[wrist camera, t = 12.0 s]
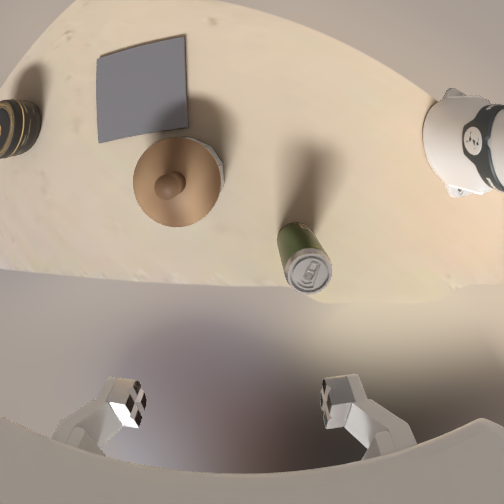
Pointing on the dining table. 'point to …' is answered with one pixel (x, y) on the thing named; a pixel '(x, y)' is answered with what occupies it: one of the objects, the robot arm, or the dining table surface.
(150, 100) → the mat
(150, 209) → the lid
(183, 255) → the dining table surface
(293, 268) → the beer can
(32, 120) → the jar
